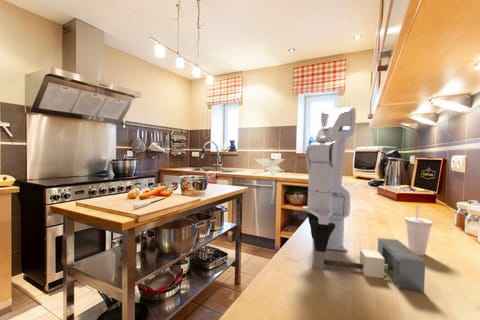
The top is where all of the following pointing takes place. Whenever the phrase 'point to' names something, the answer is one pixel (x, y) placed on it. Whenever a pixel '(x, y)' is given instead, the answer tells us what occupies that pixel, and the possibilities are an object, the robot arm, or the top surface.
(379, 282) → the top surface
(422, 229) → the smoothie
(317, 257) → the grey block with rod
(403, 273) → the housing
